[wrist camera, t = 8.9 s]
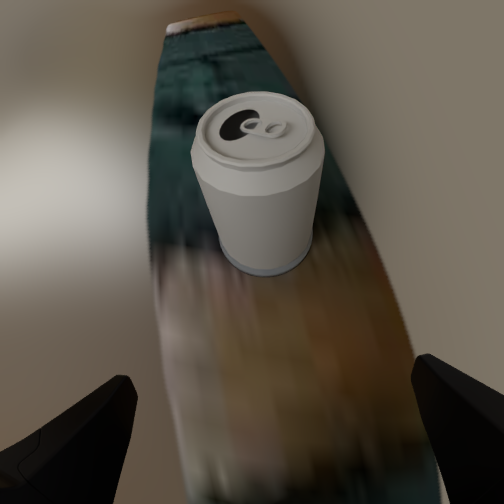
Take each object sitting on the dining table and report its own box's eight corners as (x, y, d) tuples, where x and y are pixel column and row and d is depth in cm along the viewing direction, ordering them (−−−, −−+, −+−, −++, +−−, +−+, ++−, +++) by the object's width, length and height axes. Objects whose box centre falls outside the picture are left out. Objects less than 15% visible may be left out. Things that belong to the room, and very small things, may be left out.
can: (250, 184, 27) (233, 74, 16) (324, 217, 25) (347, 104, 14) (204, 248, 25) (154, 146, 14) (283, 290, 22) (287, 198, 12)
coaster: (317, 273, 24) (319, 269, 23) (220, 280, 24) (218, 277, 23) (305, 193, 27) (305, 189, 26) (220, 200, 27) (219, 196, 27)
